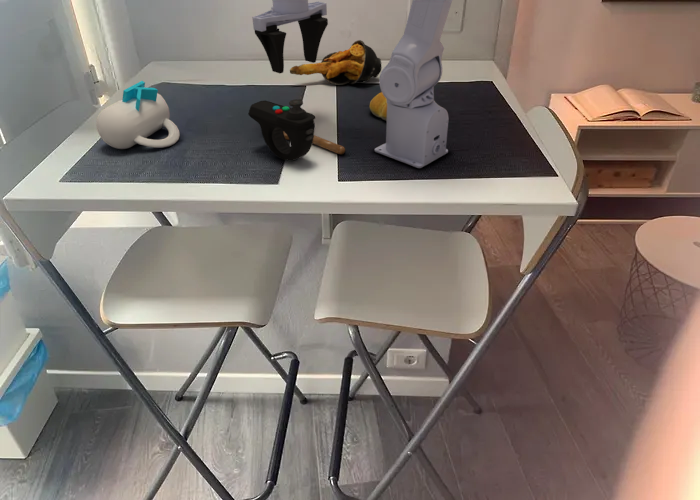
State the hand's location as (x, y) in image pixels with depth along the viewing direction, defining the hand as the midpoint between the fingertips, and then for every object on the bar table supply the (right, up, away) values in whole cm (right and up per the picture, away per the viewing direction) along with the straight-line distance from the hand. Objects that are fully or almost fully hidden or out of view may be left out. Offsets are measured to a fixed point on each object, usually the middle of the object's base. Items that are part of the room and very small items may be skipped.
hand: (294, 66), depth 97 cm
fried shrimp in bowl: (+7, +4, +24) cm, 26 cm away
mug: (-26, -13, 0) cm, 29 cm away
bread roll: (+18, -6, +9) cm, 21 cm away
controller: (-1, -16, -5) cm, 17 cm away
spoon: (+2, -13, 0) cm, 13 cm away
